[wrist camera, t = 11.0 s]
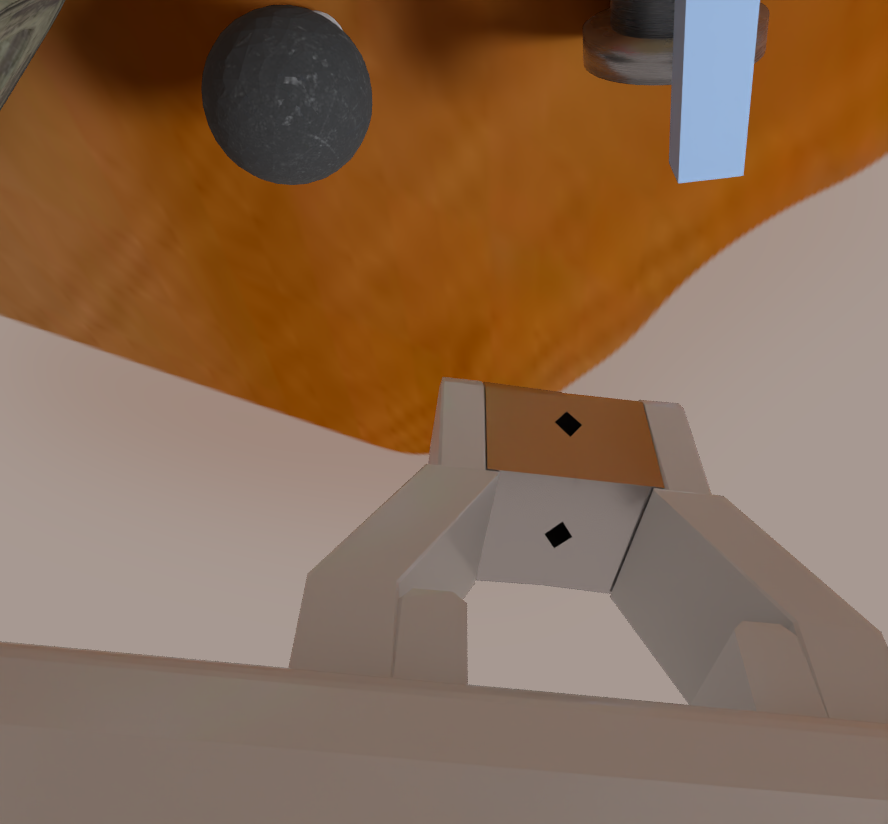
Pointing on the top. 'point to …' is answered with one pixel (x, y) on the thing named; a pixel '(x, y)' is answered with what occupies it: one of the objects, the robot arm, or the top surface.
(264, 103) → the light bulb
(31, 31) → the tabletop clock
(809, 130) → the top surface
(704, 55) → the lever
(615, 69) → the valve
